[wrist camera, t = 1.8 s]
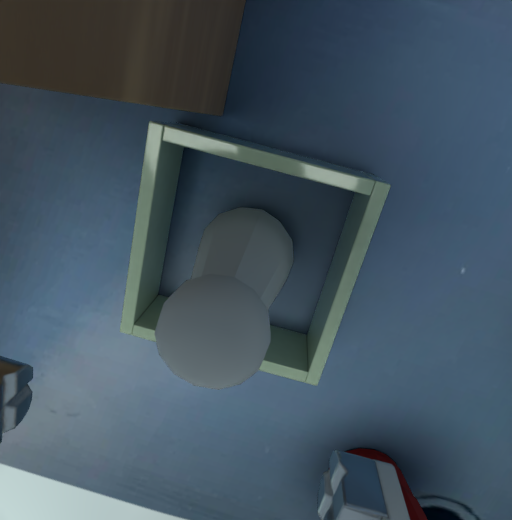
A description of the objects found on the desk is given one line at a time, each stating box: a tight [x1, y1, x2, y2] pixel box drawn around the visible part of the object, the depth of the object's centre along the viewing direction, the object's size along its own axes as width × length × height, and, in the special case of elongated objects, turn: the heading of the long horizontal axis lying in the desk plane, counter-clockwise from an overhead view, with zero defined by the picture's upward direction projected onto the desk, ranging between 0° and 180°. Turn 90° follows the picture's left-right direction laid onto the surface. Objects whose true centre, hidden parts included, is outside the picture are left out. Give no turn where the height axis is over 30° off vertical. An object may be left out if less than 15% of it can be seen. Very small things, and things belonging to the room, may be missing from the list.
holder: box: [120, 121, 391, 386], centre depth 23 cm, size 13×13×4 cm
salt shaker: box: [154, 207, 294, 390], centre depth 19 cm, size 6×6×13 cm
